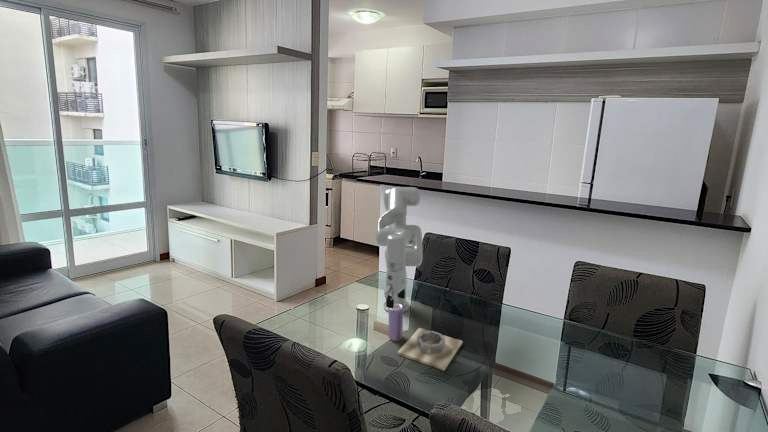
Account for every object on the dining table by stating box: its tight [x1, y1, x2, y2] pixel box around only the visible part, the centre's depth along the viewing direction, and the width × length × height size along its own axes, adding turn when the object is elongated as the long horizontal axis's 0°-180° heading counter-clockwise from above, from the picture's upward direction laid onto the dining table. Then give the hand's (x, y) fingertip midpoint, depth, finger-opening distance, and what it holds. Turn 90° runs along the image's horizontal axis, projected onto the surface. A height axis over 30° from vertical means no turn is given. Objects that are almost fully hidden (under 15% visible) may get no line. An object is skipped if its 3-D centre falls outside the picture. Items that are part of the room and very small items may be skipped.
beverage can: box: [388, 303, 404, 342], centre depth 175 cm, size 6×6×15 cm
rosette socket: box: [397, 327, 464, 371], centre depth 169 cm, size 20×20×5 cm
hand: (395, 302), depth 172 cm, fingers open, 9 cm apart
